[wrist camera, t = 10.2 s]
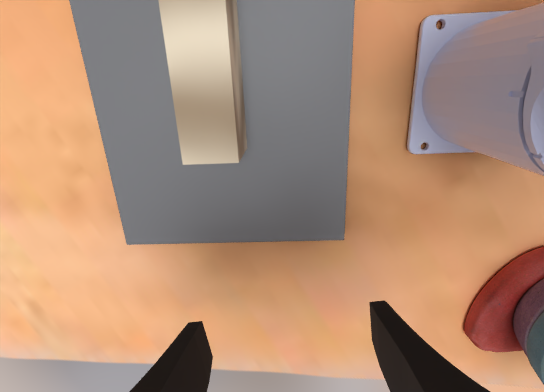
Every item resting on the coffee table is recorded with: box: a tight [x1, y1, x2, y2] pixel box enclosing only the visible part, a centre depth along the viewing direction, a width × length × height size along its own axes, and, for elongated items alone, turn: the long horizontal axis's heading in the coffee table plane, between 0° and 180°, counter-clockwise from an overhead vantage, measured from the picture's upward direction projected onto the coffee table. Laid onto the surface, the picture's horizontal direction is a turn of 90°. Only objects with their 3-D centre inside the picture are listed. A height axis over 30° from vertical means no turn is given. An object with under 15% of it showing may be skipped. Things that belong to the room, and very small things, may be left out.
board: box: [69, 0, 355, 245], centre depth 18 cm, size 16×28×1 cm, turn 3°
